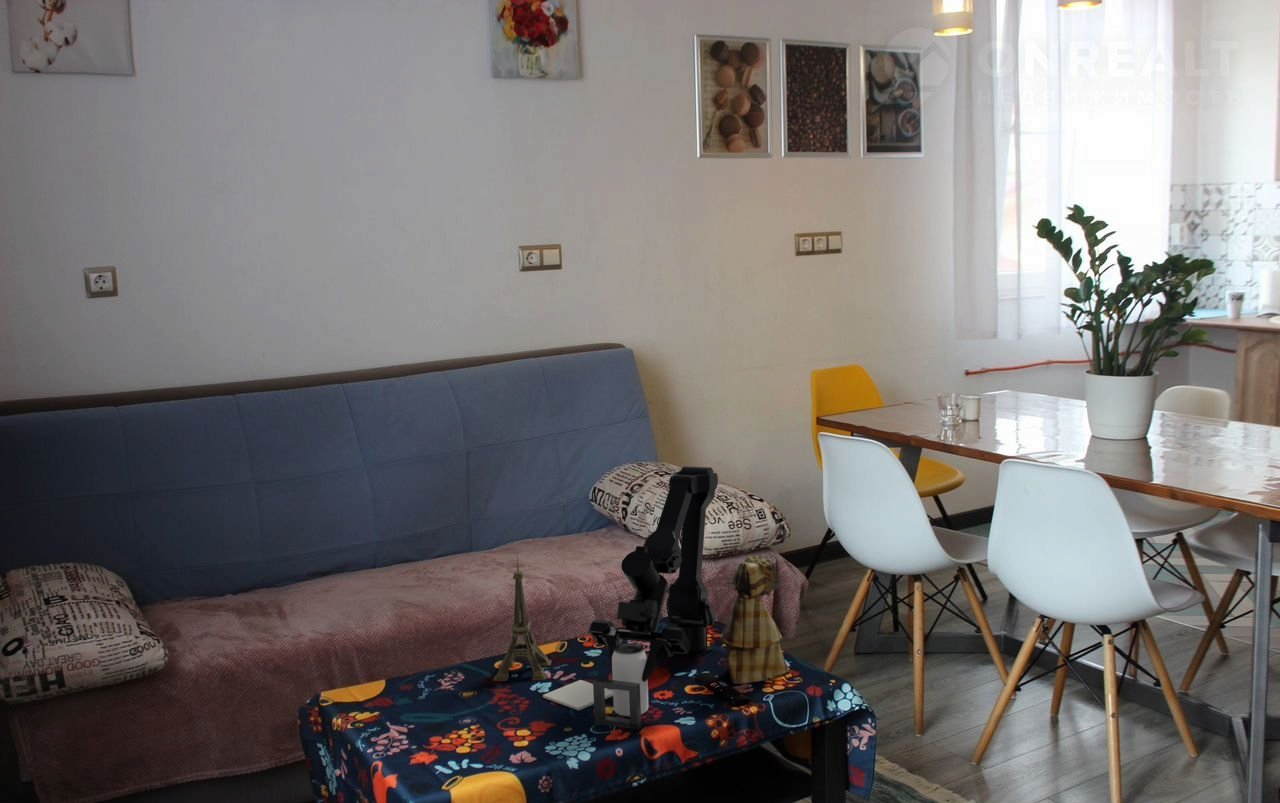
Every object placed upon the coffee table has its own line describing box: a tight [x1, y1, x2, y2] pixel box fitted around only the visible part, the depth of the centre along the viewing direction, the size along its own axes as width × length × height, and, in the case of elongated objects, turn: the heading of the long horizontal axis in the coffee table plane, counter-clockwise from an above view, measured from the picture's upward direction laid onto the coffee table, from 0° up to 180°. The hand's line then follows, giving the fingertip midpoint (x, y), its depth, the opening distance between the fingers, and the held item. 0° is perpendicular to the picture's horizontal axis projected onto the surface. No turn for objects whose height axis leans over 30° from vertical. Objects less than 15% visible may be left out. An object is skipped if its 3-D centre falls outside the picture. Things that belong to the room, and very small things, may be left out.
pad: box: [542, 679, 613, 711], centre depth 220 cm, size 10×10×1 cm
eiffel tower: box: [492, 554, 553, 682], centre depth 233 cm, size 11×11×25 cm
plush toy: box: [719, 555, 790, 685], centre depth 227 cm, size 14×14×25 cm
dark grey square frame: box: [592, 677, 642, 730], centre depth 206 cm, size 2×8×8 cm, turn 68°
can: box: [611, 642, 649, 718], centre depth 212 cm, size 6×6×12 cm
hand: (628, 679), depth 210 cm, fingers closed on can, 6 cm apart
